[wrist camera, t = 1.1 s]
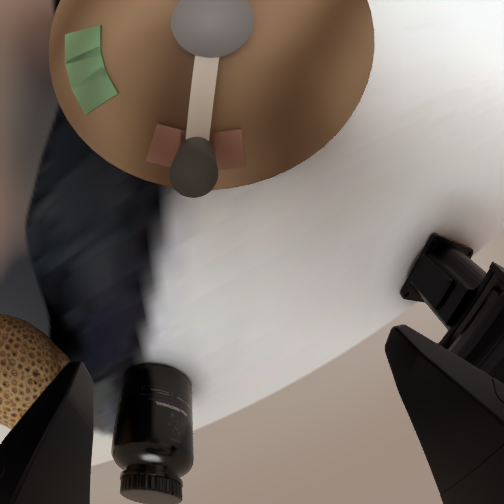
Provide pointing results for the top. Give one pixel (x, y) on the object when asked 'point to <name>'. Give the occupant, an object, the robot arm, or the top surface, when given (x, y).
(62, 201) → the top surface
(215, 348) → the top surface
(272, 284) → the top surface
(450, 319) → the robot arm
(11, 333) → the natural sponge
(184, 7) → the multicoloured piece
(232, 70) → the round wooden board
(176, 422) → the supplement bottle
